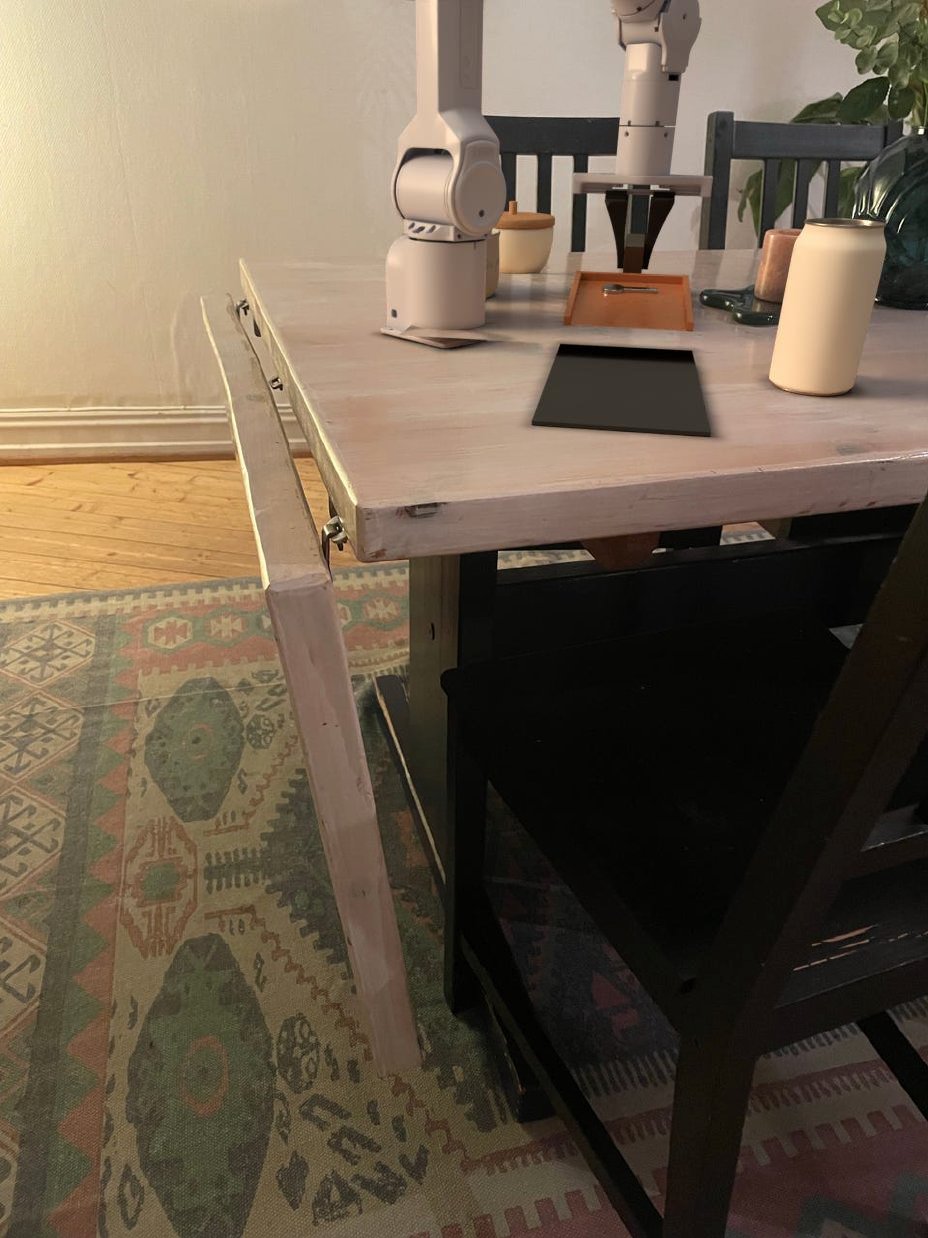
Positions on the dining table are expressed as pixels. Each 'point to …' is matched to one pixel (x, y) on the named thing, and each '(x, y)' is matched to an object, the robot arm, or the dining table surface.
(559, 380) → the mat
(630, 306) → the dustpan
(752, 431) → the dining table surface
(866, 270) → the can
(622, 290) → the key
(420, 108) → the robot arm
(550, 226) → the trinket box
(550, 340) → the dining table surface
